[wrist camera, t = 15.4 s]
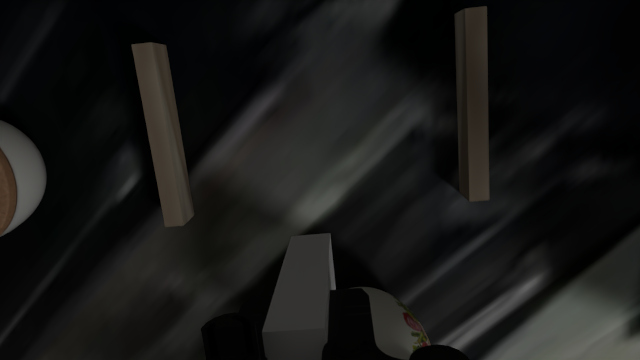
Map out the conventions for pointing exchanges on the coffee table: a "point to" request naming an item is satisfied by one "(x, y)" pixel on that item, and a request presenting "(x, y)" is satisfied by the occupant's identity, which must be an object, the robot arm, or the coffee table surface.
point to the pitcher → (394, 325)
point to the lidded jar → (19, 177)
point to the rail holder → (169, 141)
